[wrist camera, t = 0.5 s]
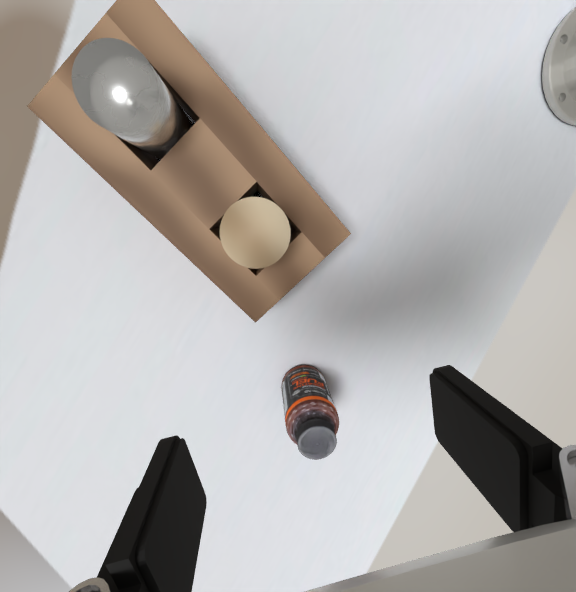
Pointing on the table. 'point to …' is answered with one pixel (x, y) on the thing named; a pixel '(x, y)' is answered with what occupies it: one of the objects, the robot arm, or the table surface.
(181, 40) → the walnut block
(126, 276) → the table surface
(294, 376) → the supplement bottle
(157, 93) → the gray peg
